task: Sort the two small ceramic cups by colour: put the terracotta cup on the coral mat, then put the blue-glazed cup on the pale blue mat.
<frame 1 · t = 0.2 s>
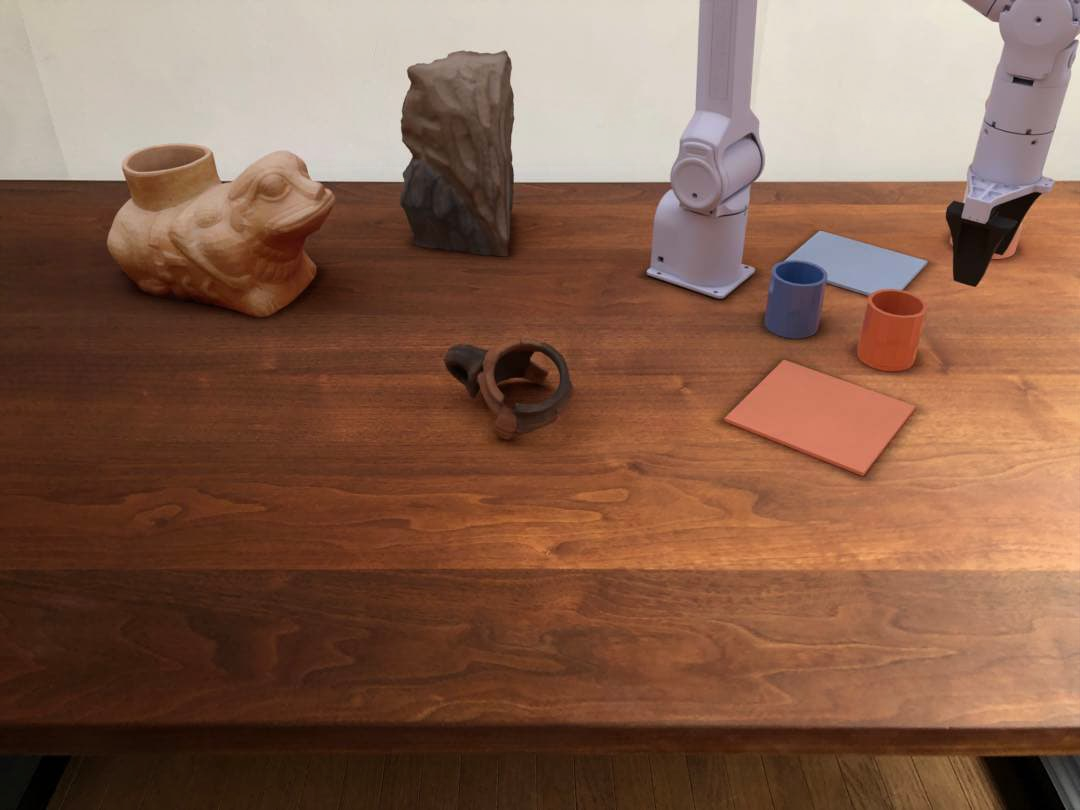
hand: (979, 266, 97), 10 cm above the table, tool pointing down, fingers open, 7 cm apart
dark brown ring-shaped piece: (508, 411, 95), on the table
blue cup: (790, 324, 108), on the table
terracotta cup: (885, 356, 103), on the table
coral mat: (820, 415, 95), on the table
ceramic vessel: (231, 282, 115), on the table
salt shaker: (981, 246, 123), on the table
blue mat: (853, 266, 118), on the table
grey brown rock: (470, 238, 124), on the table
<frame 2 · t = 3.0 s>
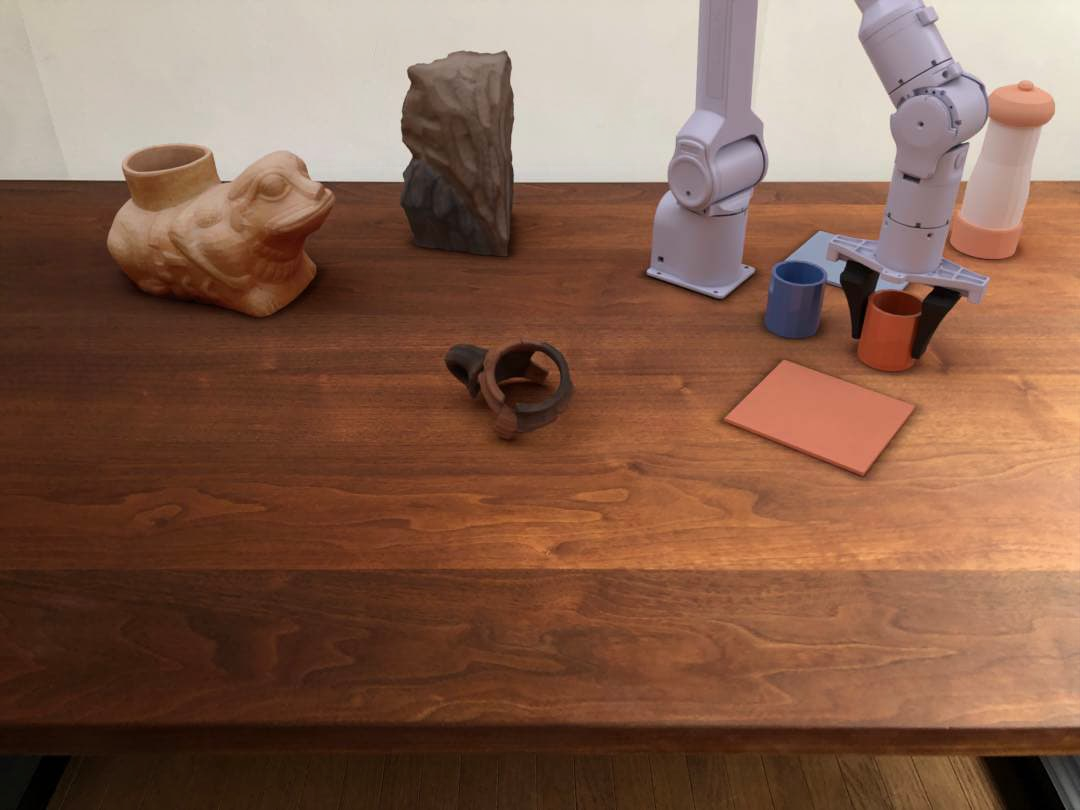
hand: (887, 344, 102), 1 cm above the table, tool pointing down, fingers closed on terracotta cup, 5 cm apart
terracotta cup: (885, 356, 103), on the table, touching gripper
everything else where it was.
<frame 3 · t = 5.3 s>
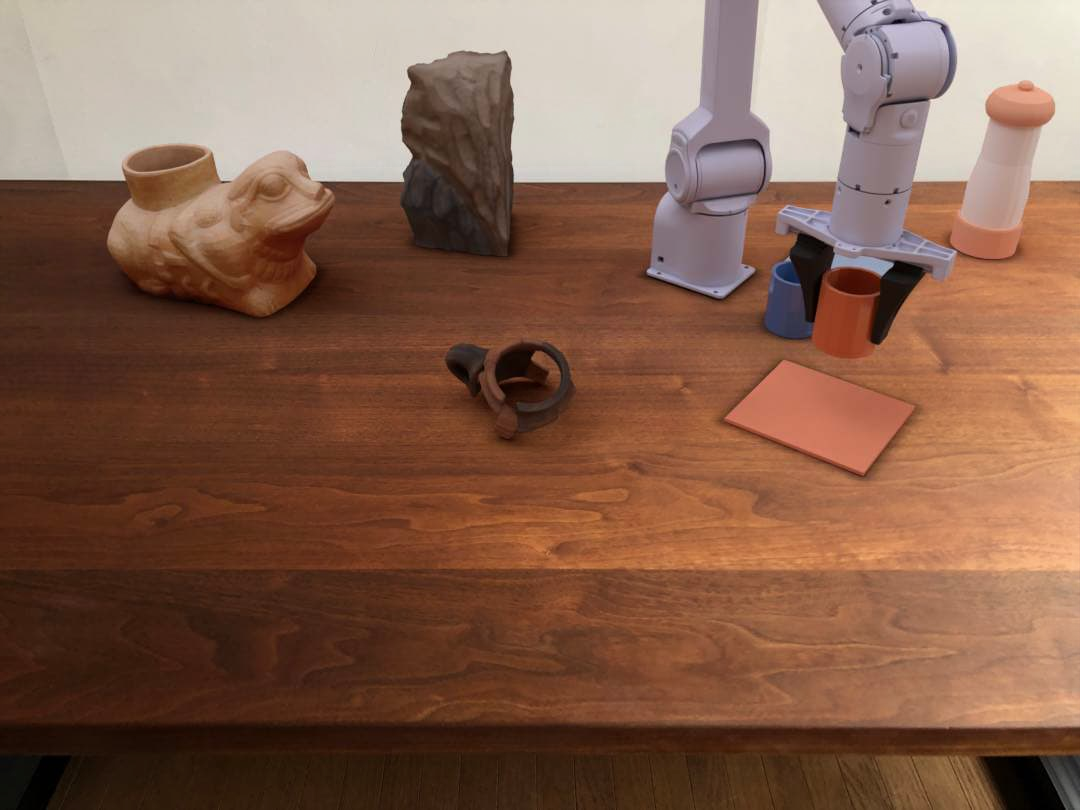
hand: (845, 328, 91), 8 cm above the table, tool pointing down, fingers closed on terracotta cup, 5 cm apart
terracotta cup: (842, 342, 92), point 7 cm above the table, touching gripper
everything else where it was.
when the fingers open (2 cm above the table, at t = 7.6 s): terracotta cup stays where it is, resting on coral mat.
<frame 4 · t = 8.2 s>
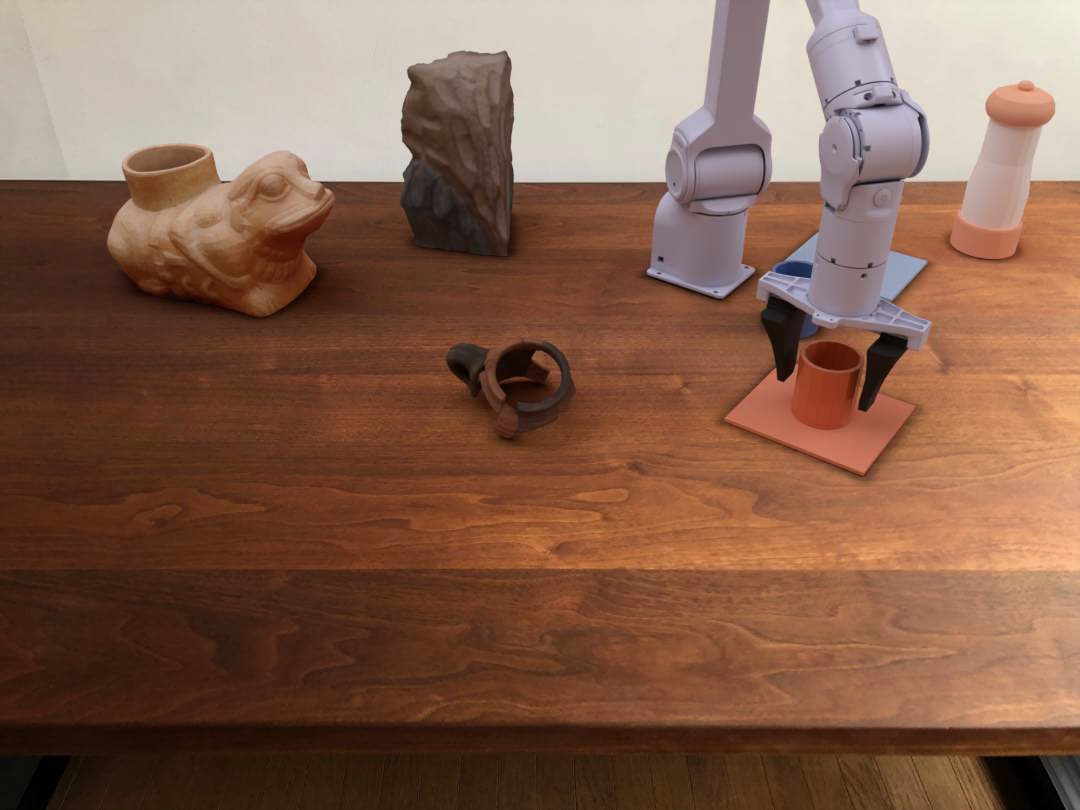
hand: (824, 390, 93), 3 cm above the table, tool pointing down, fingers open, 7 cm apart
terracotta cup: (821, 412, 95), resting on coral mat
everything else where it was.
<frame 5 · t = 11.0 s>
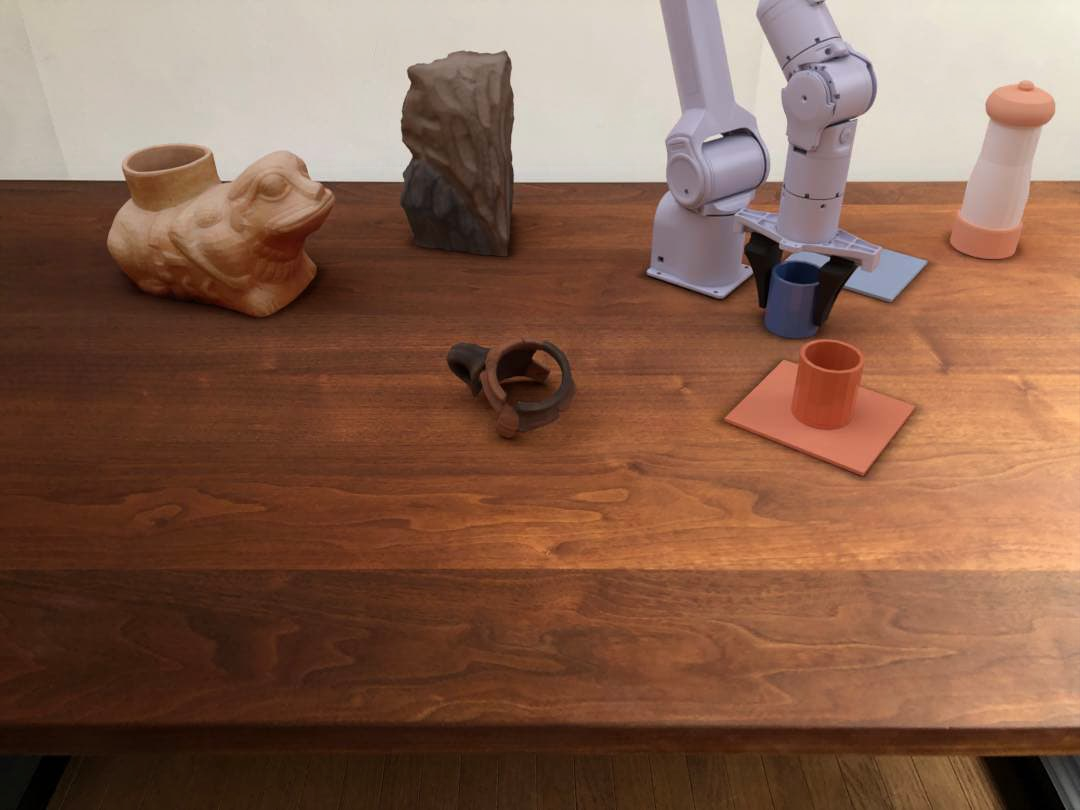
hand: (792, 313, 107), 1 cm above the table, tool pointing down, fingers closed on blue cup, 5 cm apart
blue cup: (791, 325, 108), on the table, touching gripper
everything else where it was.
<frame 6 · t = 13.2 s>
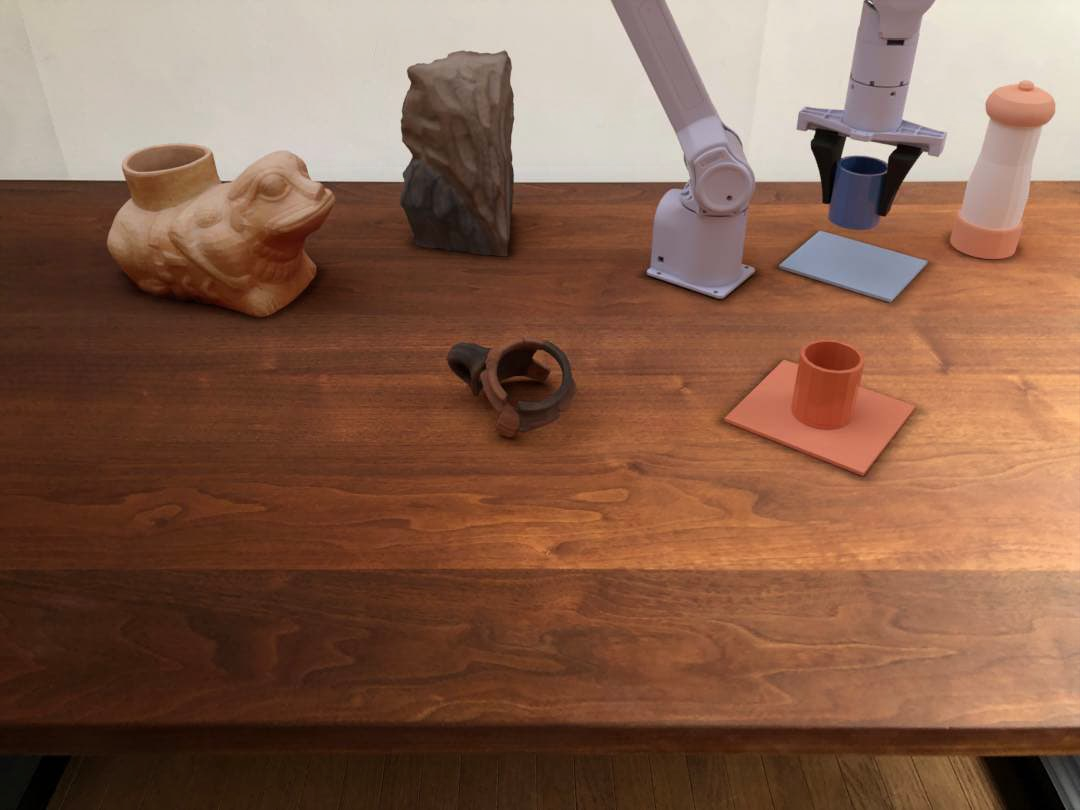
hand: (855, 206, 111), 8 cm above the table, tool pointing down, fingers closed on blue cup, 5 cm apart
blue cup: (853, 219, 112), point 7 cm above the table, touching gripper
everything else where it was.
when the fingers open (2 cm above the table, at t = 15.7 s): blue cup stays where it is, resting on blue mat.
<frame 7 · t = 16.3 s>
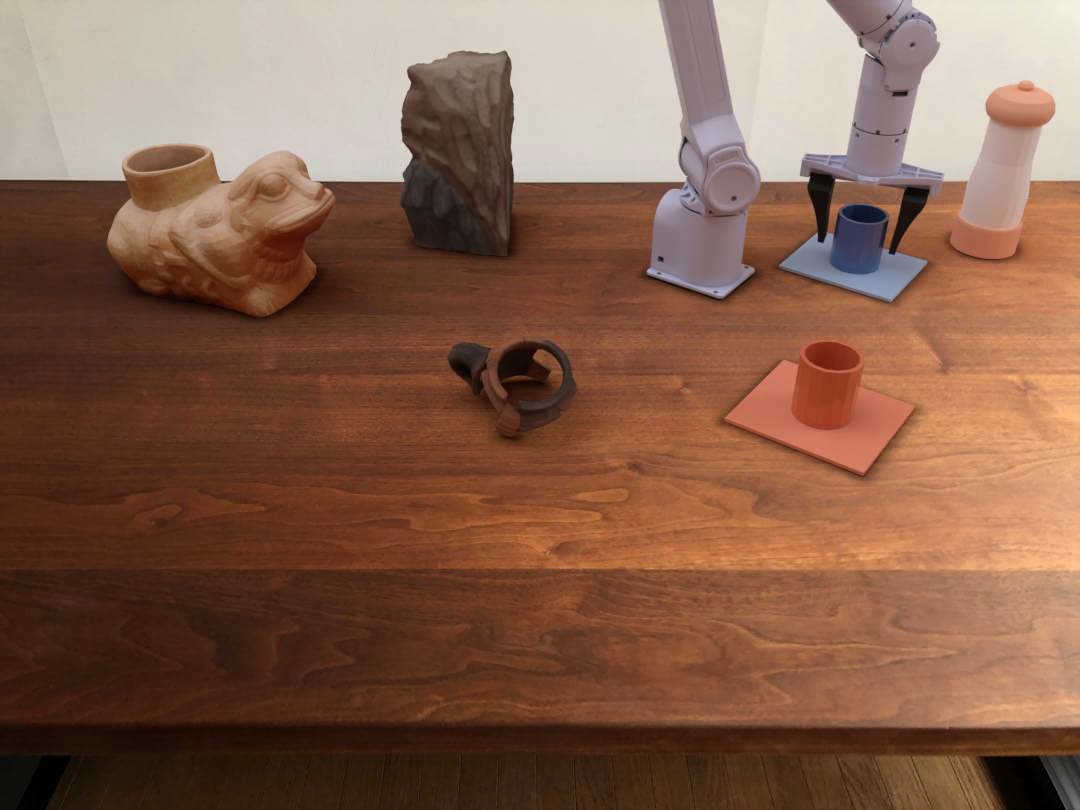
hand: (856, 244, 117), 3 cm above the table, tool pointing down, fingers open, 7 cm apart
blue cup: (854, 263, 118), resting on blue mat
everything else where it was.
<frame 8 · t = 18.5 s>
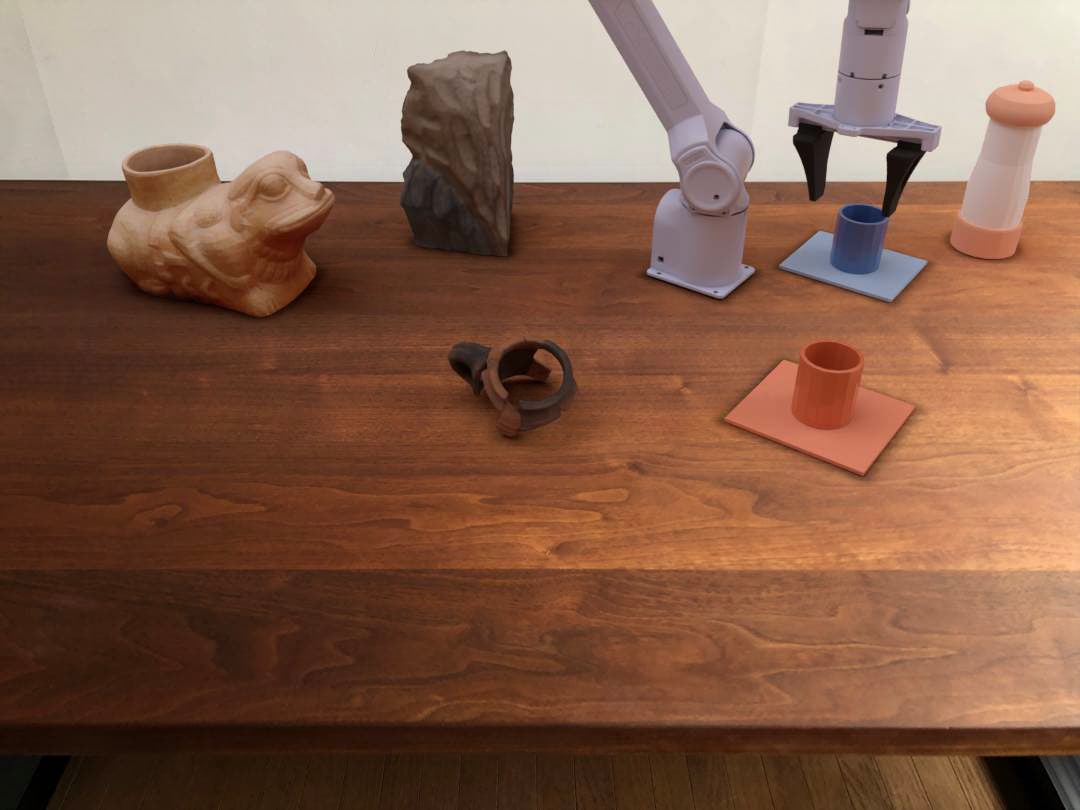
hand: (851, 205, 107), 10 cm above the table, tool pointing down, fingers open, 7 cm apart
nothing on the table moved.
at the end: terracotta cup inside the target area on the coral mat (0.1 cm from its centre), point 0.4 cm above the coral mat's base; blue cup inside the target area on the blue mat (0.1 cm from its centre), point 0.4 cm above the blue mat's base; blue cup tilted 0° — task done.
